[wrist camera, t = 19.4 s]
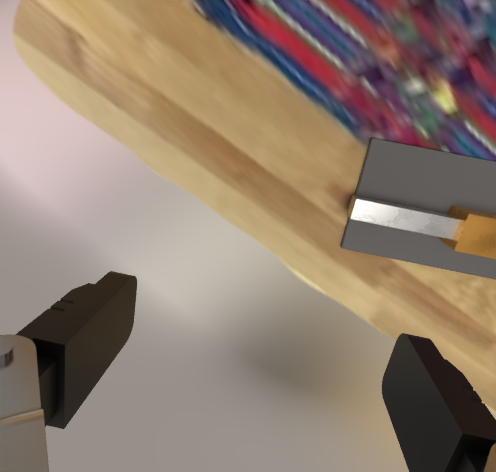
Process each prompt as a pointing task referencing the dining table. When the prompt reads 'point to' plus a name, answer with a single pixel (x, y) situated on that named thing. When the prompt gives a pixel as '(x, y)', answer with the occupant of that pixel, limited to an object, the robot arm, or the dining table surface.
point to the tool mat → (422, 203)
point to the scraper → (433, 223)
